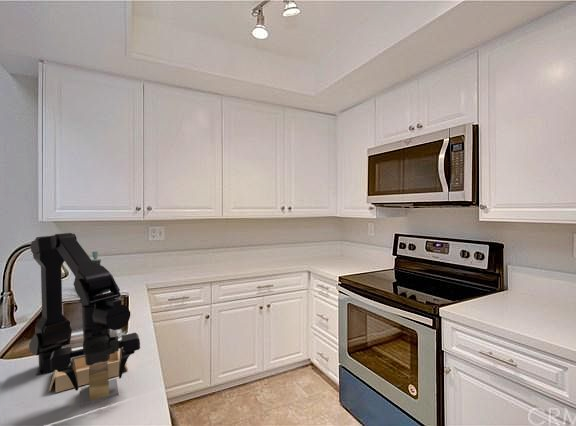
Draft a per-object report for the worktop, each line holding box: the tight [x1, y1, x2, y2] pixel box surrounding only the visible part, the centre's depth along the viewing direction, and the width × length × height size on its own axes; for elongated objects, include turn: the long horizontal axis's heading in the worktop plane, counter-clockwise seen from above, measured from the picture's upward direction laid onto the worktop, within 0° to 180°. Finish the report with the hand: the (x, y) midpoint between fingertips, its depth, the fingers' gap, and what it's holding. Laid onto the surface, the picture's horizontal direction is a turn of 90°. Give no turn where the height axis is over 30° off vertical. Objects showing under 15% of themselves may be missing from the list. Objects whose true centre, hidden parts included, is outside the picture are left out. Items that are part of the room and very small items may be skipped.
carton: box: [48, 349, 129, 393], centre depth 89 cm, size 14×18×4 cm
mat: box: [79, 377, 119, 408], centre depth 79 cm, size 8×8×1 cm
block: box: [88, 361, 109, 401], centre depth 79 cm, size 8×4×6 cm, turn 31°
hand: (99, 383), depth 78 cm, fingers open, 9 cm apart
